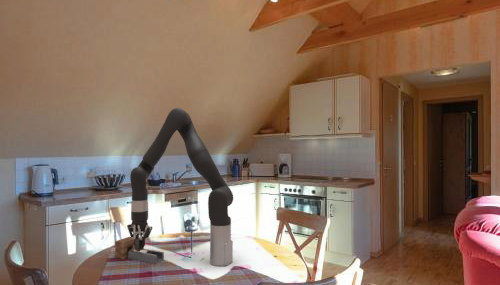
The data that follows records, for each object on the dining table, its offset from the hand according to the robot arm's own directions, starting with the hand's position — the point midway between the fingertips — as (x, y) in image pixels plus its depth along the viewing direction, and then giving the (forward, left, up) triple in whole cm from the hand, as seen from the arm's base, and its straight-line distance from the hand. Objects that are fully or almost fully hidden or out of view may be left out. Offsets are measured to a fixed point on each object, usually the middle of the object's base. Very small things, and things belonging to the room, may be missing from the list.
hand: (139, 246), depth 151 cm
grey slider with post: (+3, 0, -4) cm, 5 cm away
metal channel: (-4, 0, -5) cm, 6 cm away
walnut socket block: (+8, 0, -5) cm, 10 cm away
